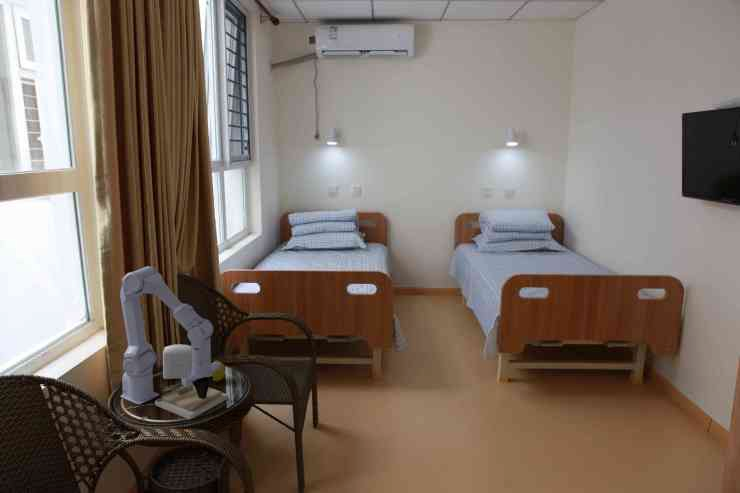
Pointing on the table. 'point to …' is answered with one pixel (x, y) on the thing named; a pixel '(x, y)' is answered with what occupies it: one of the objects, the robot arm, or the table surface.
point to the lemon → (218, 372)
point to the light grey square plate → (186, 412)
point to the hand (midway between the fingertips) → (202, 397)
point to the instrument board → (189, 396)
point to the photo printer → (177, 361)
